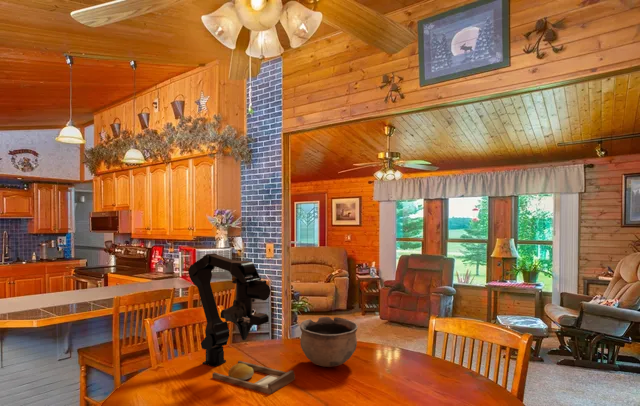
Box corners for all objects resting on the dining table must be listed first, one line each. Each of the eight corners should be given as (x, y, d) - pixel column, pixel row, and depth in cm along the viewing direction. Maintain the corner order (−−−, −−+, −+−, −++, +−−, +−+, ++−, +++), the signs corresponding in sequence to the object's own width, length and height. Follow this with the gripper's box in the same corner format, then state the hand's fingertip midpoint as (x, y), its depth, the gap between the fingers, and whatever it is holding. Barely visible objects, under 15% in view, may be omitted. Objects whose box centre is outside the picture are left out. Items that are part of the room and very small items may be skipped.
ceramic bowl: (345, 350, 174) (345, 314, 174) (367, 370, 154) (367, 329, 154) (293, 356, 167) (293, 319, 167) (309, 378, 147) (309, 335, 147)
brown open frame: (212, 378, 146) (212, 369, 146) (239, 365, 158) (239, 356, 158) (270, 395, 133) (270, 385, 133) (294, 379, 146) (294, 370, 146)
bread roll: (237, 383, 141) (237, 371, 141) (225, 376, 148) (224, 364, 148) (258, 376, 146) (258, 364, 147) (246, 369, 153) (245, 358, 153)
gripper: (209, 297, 150) (208, 341, 150) (248, 304, 140) (248, 351, 140) (231, 292, 159) (231, 333, 159) (269, 298, 149) (269, 342, 149)
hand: (244, 339), depth 152 cm, fingers closed
